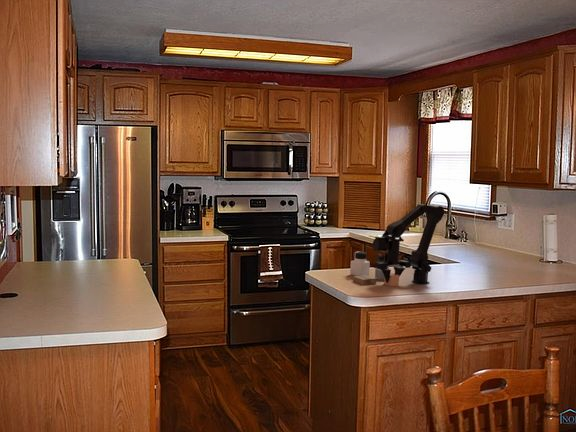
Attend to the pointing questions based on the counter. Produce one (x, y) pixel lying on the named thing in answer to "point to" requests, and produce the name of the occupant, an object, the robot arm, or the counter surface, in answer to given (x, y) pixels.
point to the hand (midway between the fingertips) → (391, 282)
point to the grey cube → (379, 274)
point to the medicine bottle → (360, 265)
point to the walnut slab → (364, 280)
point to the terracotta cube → (392, 280)
